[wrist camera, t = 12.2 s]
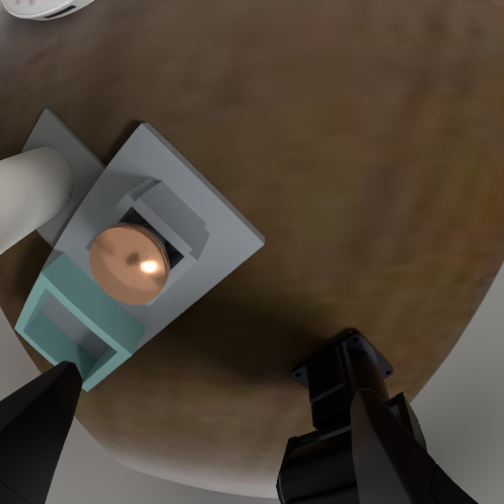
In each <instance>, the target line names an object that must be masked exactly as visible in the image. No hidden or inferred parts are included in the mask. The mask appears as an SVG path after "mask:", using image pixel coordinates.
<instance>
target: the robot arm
mask: <svg viewBox="0 0 504 504" xmlns="http://www.w3.org/2000/svg"><path fill="white" fill-rule="evenodd" d="M354 337H357V338H354ZM393 372H394V370H393V367H392V366H391V365H390V364H389V363H388V361H387V360H386V359H385V358H384V357H383V356H382V355H381V354H380V353H379V352H378V351H377V350H376V349H375V347H374V346H373V345H372V344H371V343H370V342H369V341H368V340H367V339H366V338H365V337H364V336H363V335H362V334H361V333H360V332H359V331H353V332H351V333H350V334H348V335H347V336H345V337H344V338H342V339H340V340H339V341H337V342H336V343H334V344H333V345H331V346H330V347H328V348H327V349H325V350H323V351H322V352H320V353H319V354H317V355H315V356H314V357H312V358H310V359H309V360H307V361H306V362H304V363H302V364H301V365H299V366H297V367H296V368H294V369H293V370H292V377H293V378H294V379H296V380H297V381H298V382H300V383H301V384H302V385H304V386H305V387H306V388H308V391H309V402H310V403H311V411H312V423H313V427H315V430H316V431H313V432H310V433H307V434H304V435H301V436H298V437H297V436H295V437H292V438H289V439H288V443H287V447H286V450H285V454H284V458H283V461H282V464H281V468H280V471H279V475H278V479H277V484H276V489H277V493H278V497H279V500H280V502H281V504H478V503H477V502H476V501H475V500H474V499H472V498H471V497H470V496H469V495H468V494H467V493H466V492H464V491H463V490H462V489H461V488H460V487H459V486H458V485H457V484H455V482H454V481H453V480H452V479H451V478H450V477H449V476H448V475H447V474H446V473H445V472H444V471H443V470H442V469H441V467H440V466H439V465H438V464H436V462H435V461H434V460H433V458H432V457H431V456H430V455H429V454H428V451H427V444H426V440H425V437H424V435H423V432H422V429H421V426H420V424H419V421H418V418H417V416H416V414H415V413H414V411H413V409H412V407H411V405H410V404H409V402H408V400H407V398H406V396H405V395H404V393H403V392H401V393H399V394H397V395H396V397H394V398H392V399H389V395H388V392H387V389H386V386H385V383H384V379H385V378H387V377H389V376H390V375H392V374H393ZM82 385H83V379H82V376H81V374H80V372H79V370H78V368H77V365H76V364H75V363H74V362H71V361H67V360H64V361H62V362H60V363H59V364H57V365H55V366H54V367H52V368H51V369H49V370H48V371H46V372H44V373H43V374H41V375H40V376H38V377H37V378H35V379H34V380H32V381H30V382H29V383H28V384H26V385H24V386H23V387H21V388H20V389H18V390H17V391H15V392H13V393H12V394H10V395H9V396H7V397H6V398H4V399H3V400H1V401H0V504H45V501H46V498H47V495H48V492H49V488H50V485H51V482H52V478H53V475H54V472H55V469H56V466H57V463H58V460H59V457H60V454H61V451H62V449H63V446H64V443H65V440H66V437H67V435H68V432H69V429H70V427H71V424H72V421H73V418H74V414H75V410H76V406H77V403H78V399H79V396H80V392H81V389H82Z"/></svg>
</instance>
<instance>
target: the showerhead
mask: <svg viewBox="0 0 504 504" xmlns="http://www.w3.org/2000/svg"><path fill="white" fill-rule="evenodd" d="M93 1H94V0H2V3H3V5H4V7H5V9H6V10H7V11H8V12H9V13H10V14H12V15H13V16H16V17H19V18H25V19H33V20H40V21H43V20H52V19H56V18H60V17H63V16H66V15H68V14H70V13H73V12H75V11H77V10H79V9H81V8H83V7H84V6H86V5H88V4H89V3H91V2H93Z"/></svg>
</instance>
